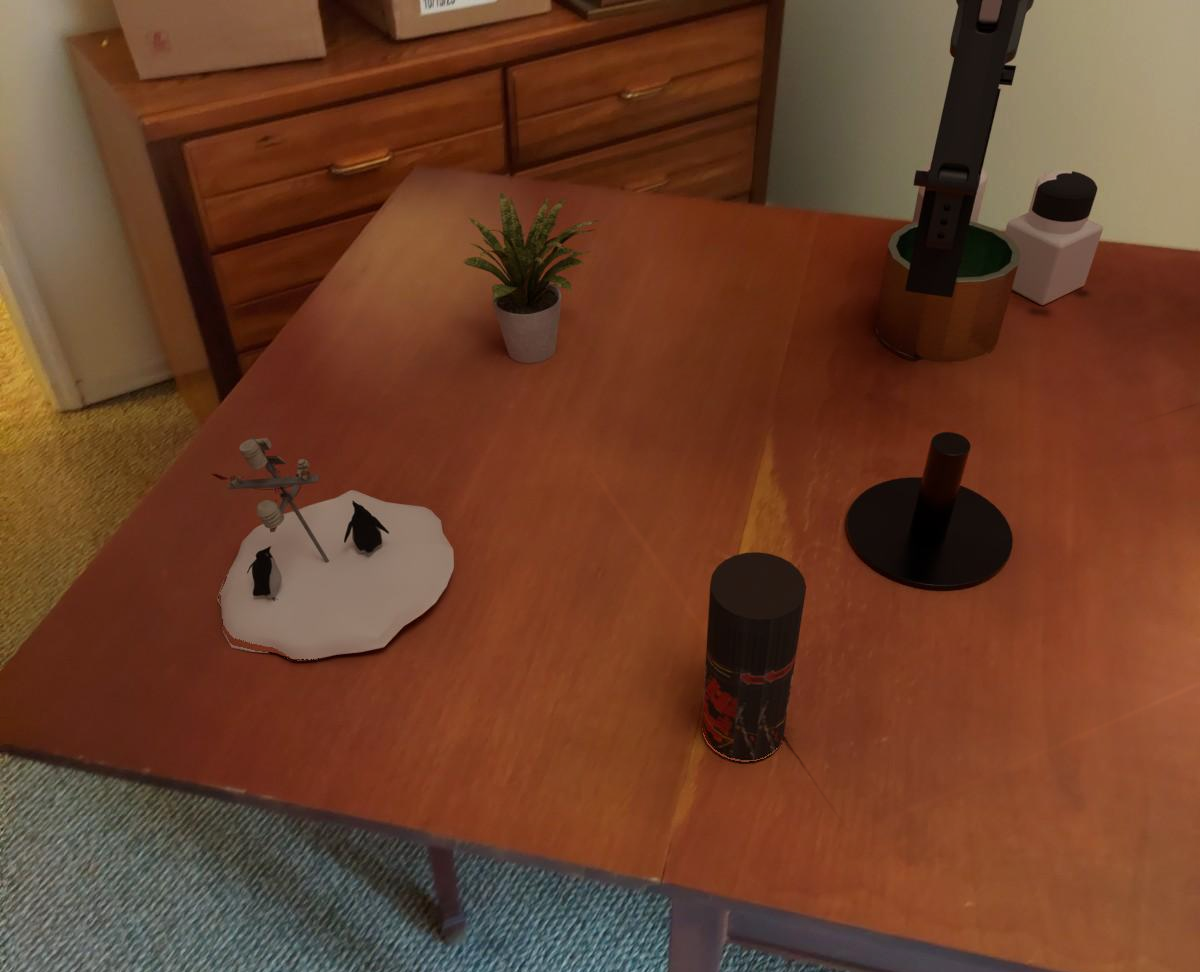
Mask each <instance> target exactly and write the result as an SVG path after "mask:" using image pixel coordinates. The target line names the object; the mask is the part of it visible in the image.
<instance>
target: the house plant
mask: <svg viewBox="0 0 1200 972" xmlns="http://www.w3.org/2000/svg"><path fill="white" fill-rule="evenodd" d="M549 197H550V195H548V196H547V197H546V198H545V200H544V202H543V203H542V204H541V207H540V209H539V211H538V213H537V215H536V217H535V218H534V221H533V222H532V224H531V226H530V228H529V231H528V234H527V237H526V241H525V238H524V236H525V235H526V233H523V232H524V231H523V227H522V224H521V221H520V219H519V216H518V214H517V209H516V205H515V203H514V202H513V199H512V196H510V197H509V200H508V197H507V196H506V195H505V194H504V193H503V192H502V190H501V191H500V193H499V207H500V209H499V210H500V217H501V224H502V230H498V229H488V228H487V226H485V225H484V224H482V223H481V222H480V221H478V220H475V219H473V218H471V217H468V219H469V221H470V222H471V223H472V224H473V225H474V226H475V227H476V228H478V230H479V231H480V233H481V235H482V236H483V237H484V238H482V237H479V239H480V240H481V241H484V243H485V244H486V245H488V246H489V247H490V248H491V249H492V250H486V249H485V248H483V247H482V246H481V245H479V244H477V243H473V242H471V243H470V245H472V246H474V247H475V248H478V249H480V250H481V251H482V252H481V253H480V254H479V255H478V256H472V257H468V258H466V259H464V260H463V261H462V262H461V264H465V265H466V266H470V267H473V268H476V269H480V270H483V271H486V272H487V273H491V274H492V275H493V276H495V277H496V278H498V280H500V282H501V283H496V284H493V285H492V286H491V289H492V299H491V301H492V307H493V309H494V312H495V315H496V318H497V321H498V325H499V327H500V331H501V334H502V338H503V340H504V344H505V347H506V351H507V354H508V357H509V358H510V359H512V360H514V361H515V362H518V363H521V364H537V363H541V362H544V361H547V360H549V359H550V358H551V357H553V355H554V354H555V353H556V350H557V343H558V342H557V341H558V334H559V333H558V332H559V324H560V315H561V305H562V292H561V290H560V289H559V288H561V289H563V290H564V288H565V289H566V290H567V291H569V292H570V293H571V295H572V296H574V293H573V288H572V284H571V282H570V281H569V280H568V279H567V278H566V277H564V276H562V275H557V274H558V273H561V272H563V271H565V270H568V269H570V268H572V267H575V266H578V265H580V264H581V265H586V263H585V262H584V261H582V260H580V259H579V258H577V257H578V256H582V255H584V254H588V253H590V252H592V251H590V250H588V251H586V250H585V251H582V250H581V251H577V250H575V249H572V248H569V247H565V246H564V245H563V244H564V243H566V242H567V241H568V240H569V239H571V238H573V237H574V236H577V235H581V234H582V235H583V234H585V233H590V232H594V231H595V229H589V230H588V229H587V230H578V229H580V228H583V227H585V226H589V225H592V224H595V223H597V222H598V220H591V221H585V222H581V223H578V224H575V225H573V226H571V227H569V228H567V229H566V230H564V231H562V232H561V233H559V234H558V235H557V236H555V237H553V238H550V239H549V236H551V235H550V234H551V233H552V231H553V229H554V227H555V226H556V223H557V218H558V214H559V212H560V210H561V209H562V207H563V206H564V204H565V202H566V200H567V199H568V197H566V198H563V199H561V200H560V201H558V202H557V203H556V204H554V205H553V207H552V208H551V209H550V210H549V211H548V212H547V208H548V205H549ZM546 212H547V213H546ZM493 231H494V232H499V233H500V234H501V235H503V236H502V237H503V244H504V246H505V247H503V246H502V245H501V243H500V242H499V240H498V238H497V237H496V236H495V235H494V234H493ZM552 248H553V249H552ZM551 250H552V251H551ZM550 251H551V252H550ZM490 252H491V253H493V254H494V255H495V256H497V257H498V259H499V260H500V262H499V260H497V259H496V257H494V255H492V254H491V253H490ZM549 252H550V253H549ZM548 253H549V254H548ZM547 254H548V255H547ZM569 254H570V255H569ZM484 255H486V256H488V257H489V258H491V259H492V260H493V261H494V262H495V263H496V264H497V265H498V266H499V268H500V269H499V268H498V267H497V266H496V265H495V264H493V263H491V262H490V261H488V260H486V259H484V258H481V257H482V256H484ZM546 255H547V256H546ZM564 255H568V256H567V257H566V258H563V259H561V260H559V261H558V262H556V263H555V264H553V265H552V266H551V267H550V268H549V269H548V270H547V271H545V270H546V269H547V267H548V266H549V265H550V264H551V263H552V262H553V261H554V260H555V259H557V258H559V257H561V256H564ZM545 256H546V257H545ZM544 272H545V273H544ZM542 275H543V276H542ZM551 282H552V283H551ZM502 283H503V284H502Z"/></svg>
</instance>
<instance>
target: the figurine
mask: <svg viewBox="0 0 1200 972" xmlns="http://www.w3.org/2000/svg"><path fill="white" fill-rule="evenodd" d="M272 447H273V445H272V442H271V441H270V439H269V438H268V437H263V438H255V437H252V438H250V439H246V440H245V441H243V442H241V444H240V445H239V450H240V453H241V456H242V457H243V458H244V459H245V461H246V462H247V464H248V466H249V467H250V469H252V470H254V471H255V470H256V471H257V470H262V468H265V469H266V470H267V472H268V473H270V475H271V476H272V477H269V478H268V477H267V478H256V479H255V478H254V479H244V478H245V476H244V477H243V476H238V477H237V476H236V475H231V476H230V477H226V476H223V475H221V474H218V473H211V475H212V476H214V477H215V478H217V479H218V480H220V481H226V480H230V482H229V484H228V486H227V490H245V489H247V490H249V489H253V490H256V489H260V491H261V490H262V491H263V490H266V491H273V490H274V491H275V493H278V495H279V496H280V498H281V503H280V505H278V503H277V501H273V500H270V499H265V500H262V501H260V502H259V503H258V505H257V507H256V515H257V516H258V518H259V519H260V521H261V522H262V524H260V525H258V526H256V527H254V528H253V529H252V530H251V532H250V533H249V534H248V535H247V536H246V537H244V539H243V540H242V541H241V544H240V546H239V549H238V553H237V555H236V557H235V559H234V561H233V563H232V565H231V567H230V568H229V571H228V572H229V573H228V572H227V574H228V575H227V574H226V576H227V579H226V582H225V584H224V586H223V588H222V585H223V582H224V580H223V581H222V584H221V586H220V589H219V592H218V595H217V598H216V601H217V602H218V604H219V606H220V609H221V620H222V619H223V625H224V626H225V628H226V630H227V631H228V632H229V634H230V635H231V636H232V637H233V638H234V639H235V638H236V639H238V640H239V639H240V640H242V641H243V640H244V642H245V641H246V642H248V643H249V642H250V644H251V643H252V644H257V645H262V646H265V647H266V646H267V647H273V648H275V649H278V651H281V652H283V653H284V654H286V656H289V657H290V658H291V659H300V660H299V661H302V660H301V659H304V660H303V661H310V660H311V659H312V660H311V661H314V660H319V659H323V658H327V657H332V656H336V655H344V654H345V655H346V654H353V653H354V654H357V653H363V652H368V651H372V650H377V649H378V650H379V649H383V648H385V647H386V646H387V645H388V643H389V642H390V641H392V639H393V638H395V636H396V635H398V633H399V632H400V631H401V630H402V629H403V628H404V627H405V626H406V625H408V624H410V623H411V622H413V621H414V620H416V619H418V617H419V618H420V616H422V615H424V614H425V613H426V612H427V611H428V610H429V609H430V608H432V607H433V606H434V605H435V604H436V603H437V601H438V600H439V598H441V595H442V594H443V592H444V591H445V590H446V588H447V586H448V584H449V582H450V580H451V577H452V575H453V572H454V569H455V560H454V559H455V558H454V555H455V553H454V548H453V547H452V545H451V544H450V542H449V540H448V538H447V537H446V535H445V534H444V533H443V531H444V530H443V525H442V520H441V519H440V518H439V517H438V516H437V515H436V514H435V513H434V512H433V511H432V510H431V509H430V508H427V507H425V506H421V505H411V504H404V503H395V502H388V501H384V500H381V499H379V498H376V497H372V496H371V495H367V494H364V493H362V492H360V491H357V490H353V489H350V490H349V491H346V492H344V493H342V494H340V495H338V496H336V497H334V498H331V499H327V500H323V501H320V502H317V503H313V504H309V505H307V506H304V507H301V508H298V507H297V505H296V503H295V502H294V499H295V497H296V496H297V495H298V494H299V491H300V489H301V488H302V487H301V486H302V485H303V486H304V485H310V484H318V480H319V477H321V475H320V474H311V472H310V471H308V469H309V467H310V465H311V464H310V462H309V461H308V460H307V459H304V458H300V459H299V460H298V461H297V464H296V467H297V471H296V473H295V475H294V476H282V475H281V471H280V470H278V469H277V468H276V467H275V466H277V465H279V466H281V465H287V461H285V460H284V459H283V458H282V457H280V456H279V455H276V454H275V455H266V452H265V451H269V450H271V448H272ZM290 487H291V488H290ZM286 488H290V492H288V490H287V489H286ZM287 505H290V507H291V509H292V510H293V511H289V512H286V513H284V512H285V510H286V507H287ZM221 588H222V590H221ZM220 591H221V592H220ZM219 594H220V595H221V604H220V602H219V599H218V596H219ZM222 634H223V635H224V637H225V639H226V640H227V642H228V644H229V646H230V647H231V648H232V649H236V650H241V651H246V652H252V653H264V654H269V653H268V652H262V651H255V650H251V649H247V648H243V647H238V646H234V645H232V644H231V643H230V642H229V640H228V638H227V636H226V635H225V633H224V631H223V630H222ZM318 658H319V659H318ZM306 659H308V660H306ZM313 659H314V660H313Z"/></svg>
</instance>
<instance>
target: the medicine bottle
mask: <svg viewBox="0 0 1200 972" xmlns="http://www.w3.org/2000/svg"><path fill="white" fill-rule="evenodd" d="M1097 191H1098V186H1097V184H1096V181H1094V180H1093V179H1092V178H1091V177H1090V176H1088V175H1086V174H1083V173H1081V172H1078V171H1074V170H1064V169H1063V170H1061V169H1060V170H1054V171H1049V172H1046V173H1044V174H1042V175H1041V176H1040V177H1038V178H1037V180H1036V181H1035V186H1034V189H1033V193H1032V196H1031V201H1030V204H1029V207H1028V212H1026V213H1024V214H1021V215H1019V216H1017V217H1015V218H1013V219H1010V220H1008V221H1007V223H1006V226H1005V229H1004V234H1005V235H1006V236H1008V237H1009V238H1011V239H1013V240H1014V242H1015V243H1016V245H1017V247H1018V248H1019V250H1020V252H1021V255H1020V260H1019V264H1018V268H1017V272H1016V275H1015V279H1014V283H1013V286H1012V290H1011V291H1013V292H1015V293H1017V294H1019V295H1021V296H1023V297H1025V298H1026V299H1028V300H1030V301H1033V302H1034V303H1036V304H1038V305H1040V306H1045V305H1047V304H1049V303H1051V302H1053V301H1055V300H1057V299H1060V298H1061V297H1064V296H1065V295H1068V294H1070V293H1073V292H1074V291H1077V290H1078V289H1081V288H1082V287H1084V286H1085V285H1086V282H1087V279H1088V276H1089V274H1090V273H1089V272H1090V270H1091V267H1092V263H1093V261H1094V258H1095V255H1096V252H1097V249H1098V245H1099V243H1100V240H1101V236H1102V234H1103V231H1104V226H1103V225H1101V224H1099V223H1097V222H1094V221H1092V220H1090V219H1089V217H1090V214H1091V211H1092V209H1093V205H1094V203H1095V200H1096V195H1097V193H1098V192H1097Z"/></svg>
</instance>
